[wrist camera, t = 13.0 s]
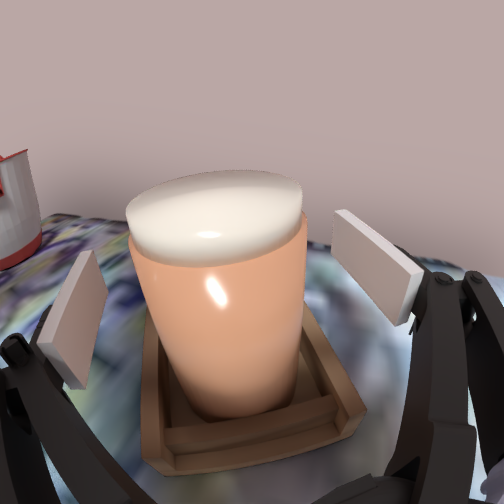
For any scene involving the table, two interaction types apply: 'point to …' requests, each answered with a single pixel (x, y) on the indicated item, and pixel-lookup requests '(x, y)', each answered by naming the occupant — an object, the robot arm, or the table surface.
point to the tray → (247, 428)
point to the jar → (225, 285)
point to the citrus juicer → (18, 211)
